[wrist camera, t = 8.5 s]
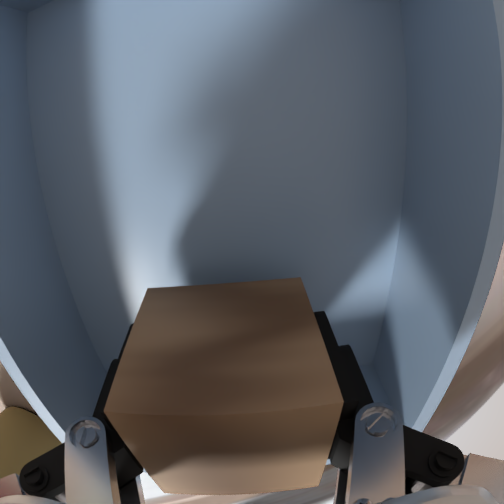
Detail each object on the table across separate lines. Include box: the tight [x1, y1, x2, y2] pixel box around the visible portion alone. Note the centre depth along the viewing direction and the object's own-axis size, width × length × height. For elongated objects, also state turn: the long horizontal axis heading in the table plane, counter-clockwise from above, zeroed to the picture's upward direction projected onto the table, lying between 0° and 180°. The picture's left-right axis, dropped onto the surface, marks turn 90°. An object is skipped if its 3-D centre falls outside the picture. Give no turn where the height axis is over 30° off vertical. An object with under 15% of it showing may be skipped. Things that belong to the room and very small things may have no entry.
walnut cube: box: [104, 277, 344, 495], centre depth 9 cm, size 5×5×5 cm
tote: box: [0, 0, 504, 472], centre depth 9 cm, size 20×16×6 cm
